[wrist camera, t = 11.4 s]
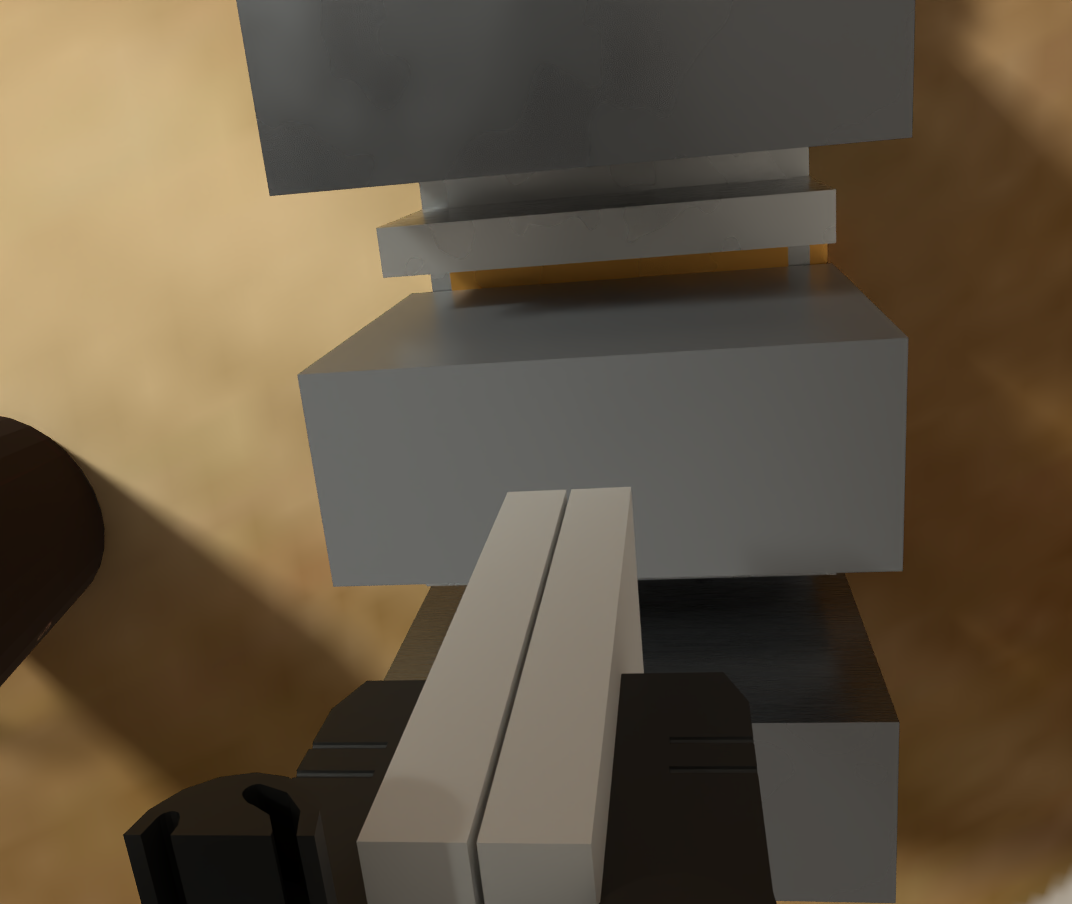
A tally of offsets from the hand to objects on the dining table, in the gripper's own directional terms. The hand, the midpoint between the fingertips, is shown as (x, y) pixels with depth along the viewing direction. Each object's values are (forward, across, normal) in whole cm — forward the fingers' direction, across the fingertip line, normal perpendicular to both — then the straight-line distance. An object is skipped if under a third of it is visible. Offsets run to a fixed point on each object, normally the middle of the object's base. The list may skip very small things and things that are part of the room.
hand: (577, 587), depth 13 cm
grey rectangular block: (+12, 0, 0) cm, 12 cm away
